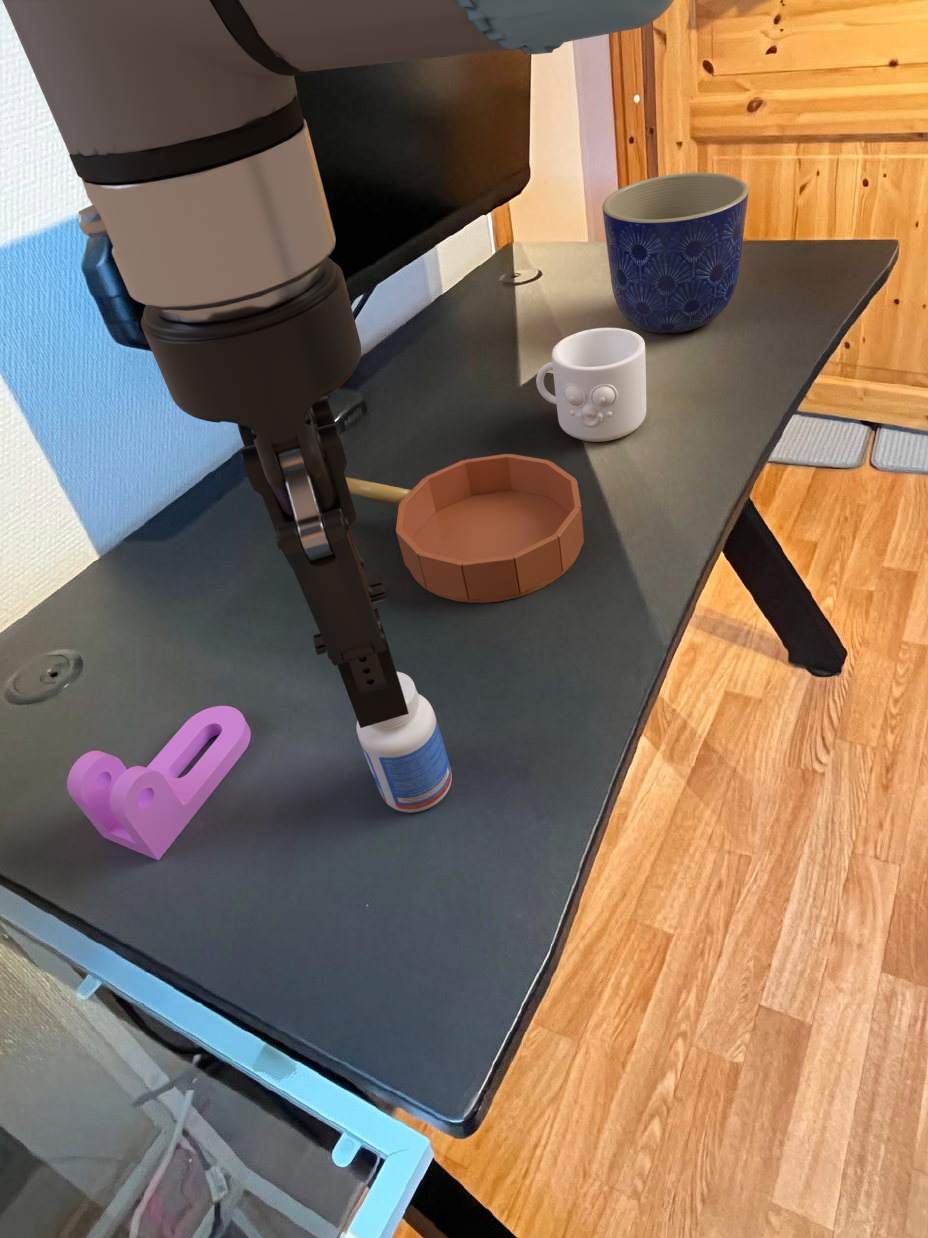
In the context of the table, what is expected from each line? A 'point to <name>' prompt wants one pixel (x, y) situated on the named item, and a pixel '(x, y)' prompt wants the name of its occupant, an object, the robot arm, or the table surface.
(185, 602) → the table surface
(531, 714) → the table surface
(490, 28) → the robot arm
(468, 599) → the pan
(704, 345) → the table surface
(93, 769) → the bracket
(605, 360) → the mug
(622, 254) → the planter
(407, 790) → the pill bottle
